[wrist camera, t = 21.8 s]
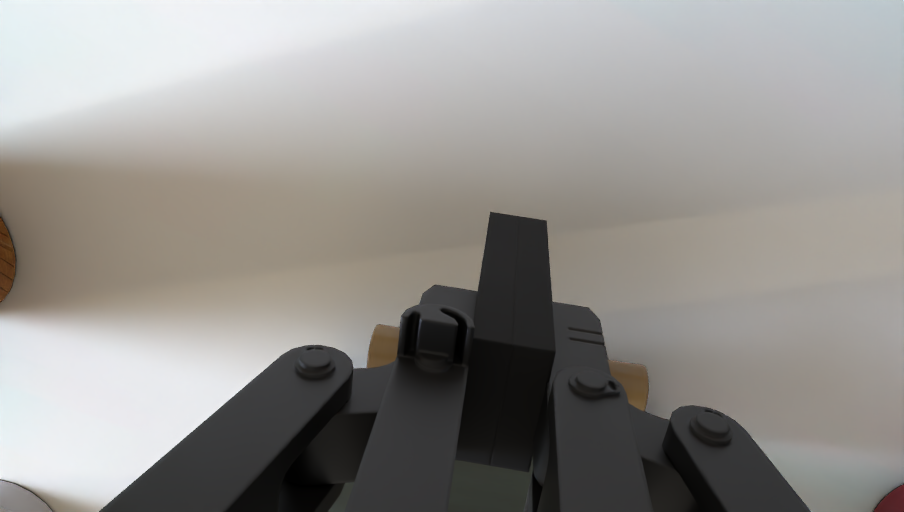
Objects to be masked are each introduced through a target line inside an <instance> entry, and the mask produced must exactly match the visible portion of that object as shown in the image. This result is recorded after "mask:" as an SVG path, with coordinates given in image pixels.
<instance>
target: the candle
mask: <svg viewBox="0 0 904 512" xmlns="http://www.w3.org/2000/svg"><path fill="white" fill-rule="evenodd" d="M874 512H904V484H903V485H901V486H899V487H898V488H896V489H895V490H893V491H892V492H890V493H889V494H888V495H887V496H886V497H885V498H884V499H883V500H882V501H881V502H880V503H879V504H878V506H877V507H876V508H875V510H874Z"/></svg>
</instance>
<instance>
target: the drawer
mask: <svg viewBox="0 0 904 512" xmlns="http://www.w3.org/2000/svg"><path fill="white" fill-rule="evenodd" d="M399 331H400V327H394V326H388V325H381V324H379V325H377V326H376V327H375V329H374V331H373V334H372V337H371V341H370V346H369V351H368V358H367V368H374V367H380V366H384V365H387V364H389V363H391V362H394V361H395V360H396V357H397V350H398V341H399ZM608 362H609V367H610V372H611V376H613V377H614V378H615V379H616V380H617V381H619V382H620V383H621V384H622V386H623V387H624V389H625V391H626V393H627V398H628V402H629V404H631V405H633V406H634V407H636V408H638V409H640V410H642V411H645V408H646V404H647V399H648V390H649V379H648V372H647V369H646V367H645V366H643V365H640V364H634V363H627V362H621V361H614V360H608ZM665 420H668V419H665ZM668 421H670V420H668ZM532 472H533V457H532V461H531V466H530V470H529V472H523V471H517V470H511V469H506V468H500V467H494V466H488V465H482V464H477V463H471V462H465V461H459V460H455V464H454V471H453V478H452V484H451V491H450V498H449V505H448V512H524V508H525V503H526V499H527V494H528V490H529V485H530V481H531V477H532ZM353 485H354V482H350V483H345V485H344V487H343V490H342V492H341V494H340V496H339V497H338V498H337V500H336V501H335V502H334V504H333V505H332V507H331V508H330V509H329V511H328V512H344V511H345V508H346V505H347V502H348V499H349V497H350V494H351V491H352V488H353Z"/></svg>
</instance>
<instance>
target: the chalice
mask: <svg viewBox="0 0 904 512" xmlns="http://www.w3.org/2000/svg"><path fill="white" fill-rule="evenodd" d="M0 512H52V511H51V509H50V508H49V507H48V506H47V504H46V503H45V502H43V501H42V500H41V499H39V498H38V497H37V496H35V495H34V494H33V493H32V492H30V491H28V490H26V489H24V488H22V487H20V486H18V485H16V484H13V483H9V482H5V481H1V480H0Z"/></svg>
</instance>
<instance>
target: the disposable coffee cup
mask: <svg viewBox="0 0 904 512" xmlns="http://www.w3.org/2000/svg"><path fill="white" fill-rule="evenodd" d="M15 261H16V259H15V252H14V247H13V244H12V241H11V238H10V235H9V233H8V231H7V229H6V227H5V224H4V222H3V220H2V219H1V217H0V302H2V301H3V300H4V299H5V297H6V296H7V294H8V293H9V291H10V290H11V287H12V284H13V280H14V277H15Z"/></svg>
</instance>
